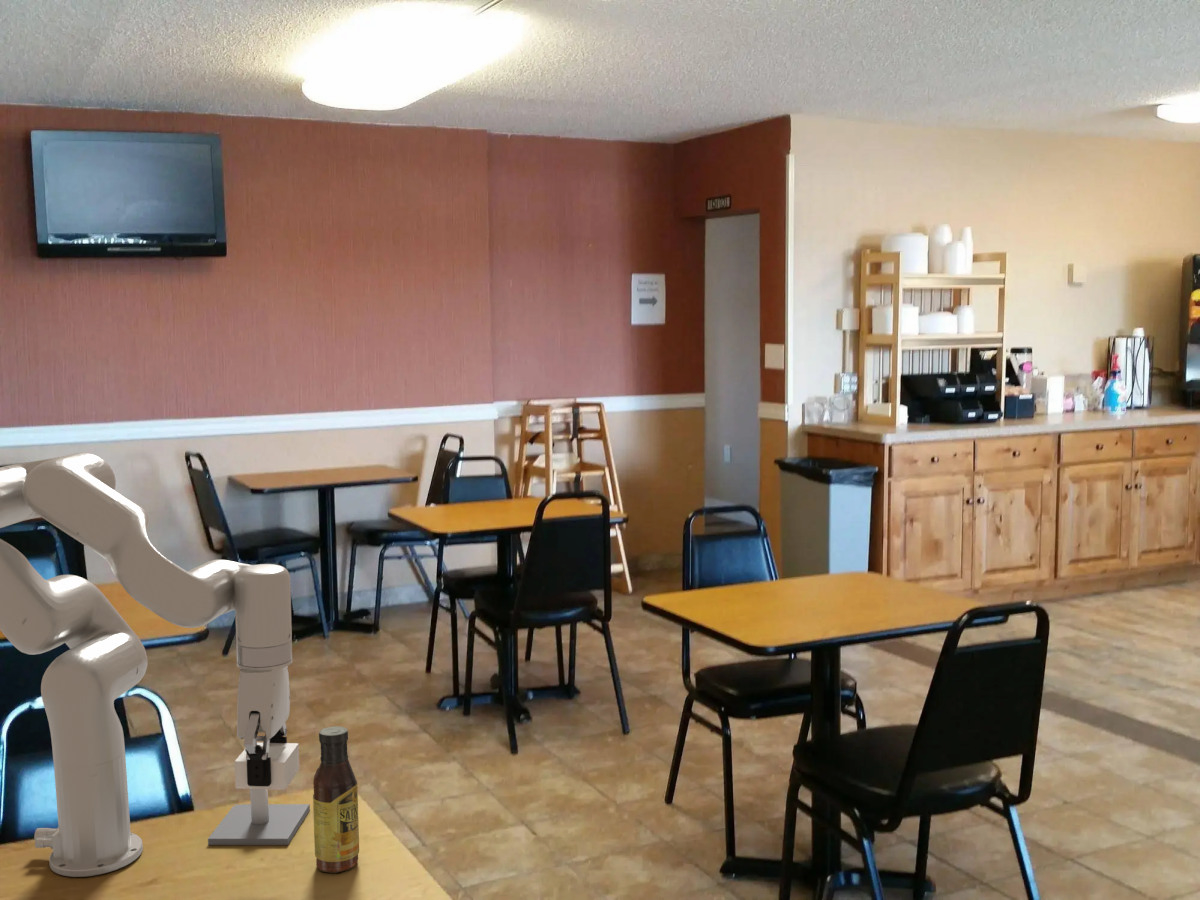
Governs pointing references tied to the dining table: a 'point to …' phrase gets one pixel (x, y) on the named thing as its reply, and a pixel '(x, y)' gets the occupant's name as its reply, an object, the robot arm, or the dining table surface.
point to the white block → (272, 766)
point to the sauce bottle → (335, 804)
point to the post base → (259, 832)
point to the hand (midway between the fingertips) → (267, 773)
